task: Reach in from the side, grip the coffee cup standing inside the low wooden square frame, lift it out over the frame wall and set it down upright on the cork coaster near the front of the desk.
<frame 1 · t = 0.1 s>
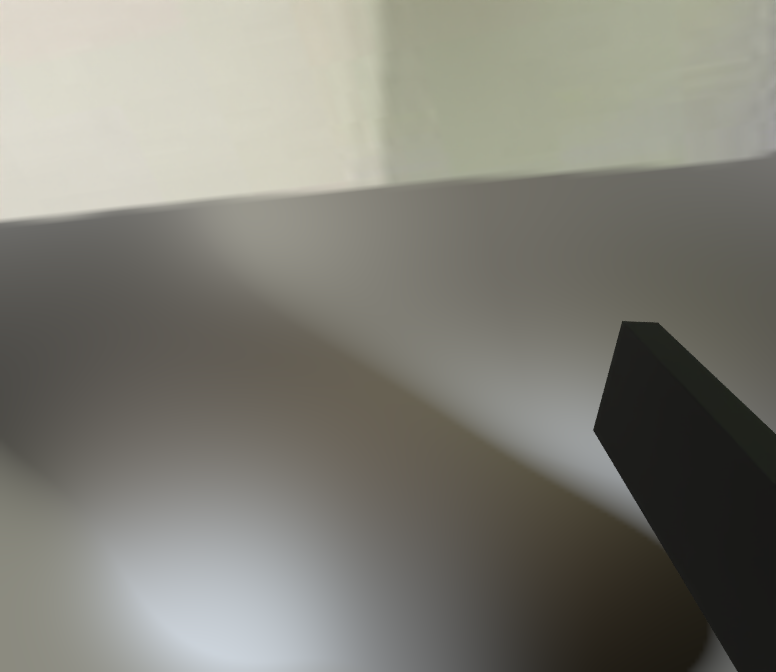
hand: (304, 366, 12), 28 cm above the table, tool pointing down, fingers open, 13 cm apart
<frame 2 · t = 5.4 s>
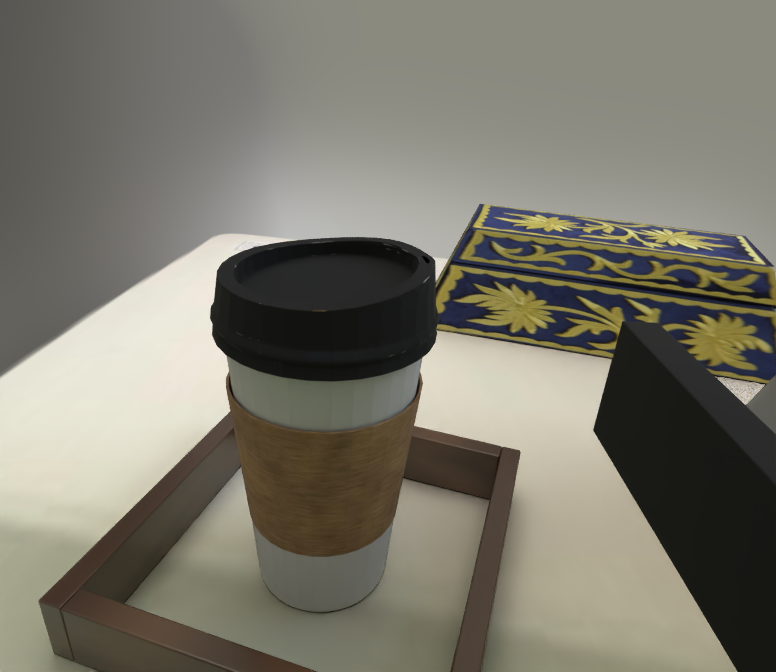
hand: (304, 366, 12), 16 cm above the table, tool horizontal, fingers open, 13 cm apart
decorative box: (587, 330, 53), on the table
coffee cup: (323, 562, 28), resting in wooden square frame
wooden square frame: (323, 559, 28), on the table
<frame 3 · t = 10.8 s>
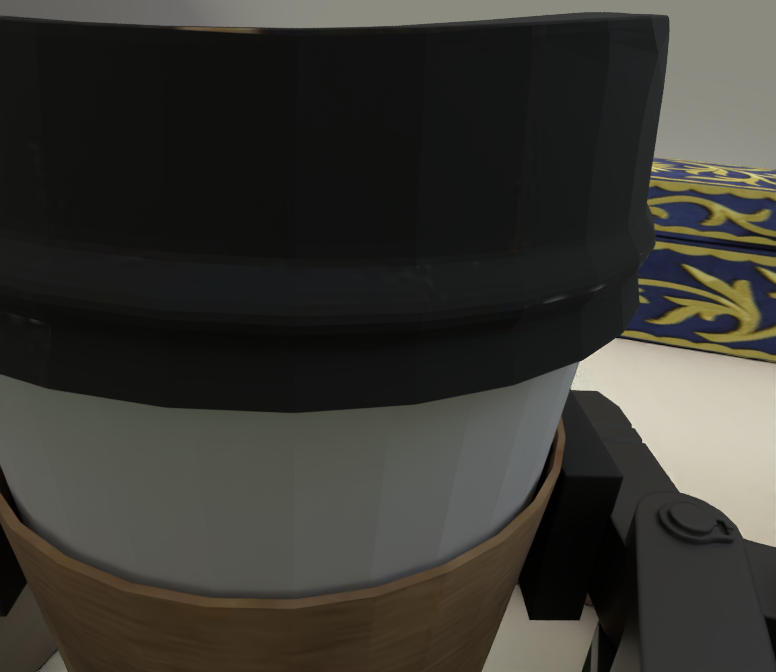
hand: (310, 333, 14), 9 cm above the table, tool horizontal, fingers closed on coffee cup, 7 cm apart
decorative box: (680, 317, 38), on the table
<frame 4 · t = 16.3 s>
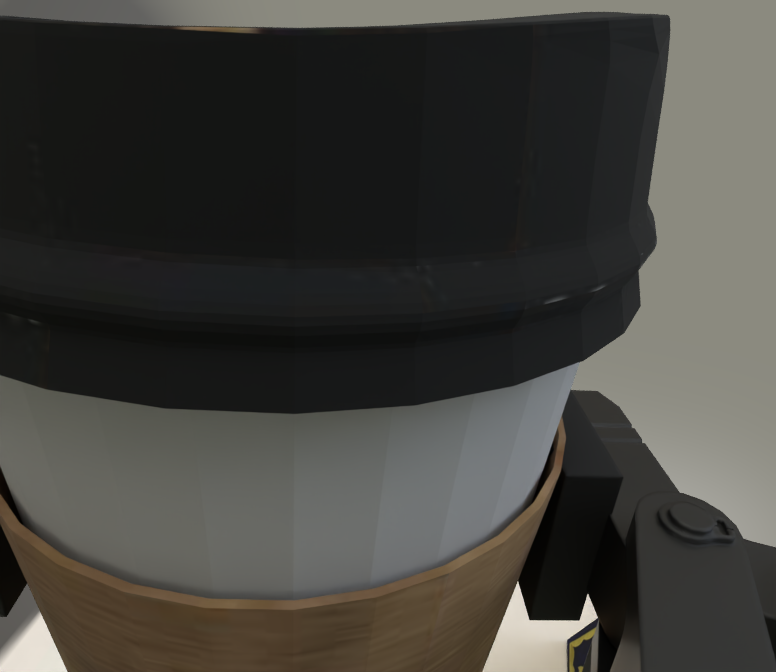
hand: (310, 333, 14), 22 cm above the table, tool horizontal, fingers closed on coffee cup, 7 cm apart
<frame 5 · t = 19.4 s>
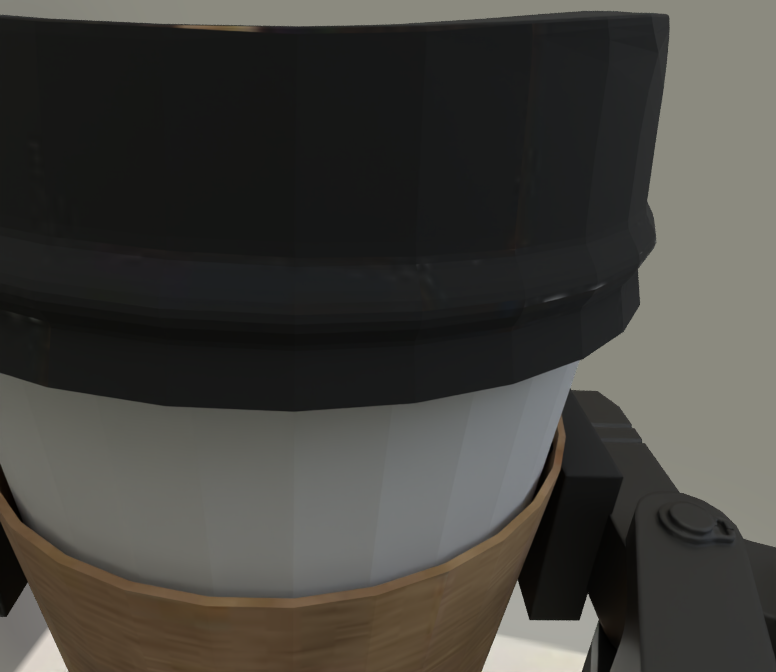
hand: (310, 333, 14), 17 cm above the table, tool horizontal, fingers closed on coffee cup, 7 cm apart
when the fingers open (9 cm above the table, at t = 22.0 s): coffee cup stays where it is, resting on coaster.
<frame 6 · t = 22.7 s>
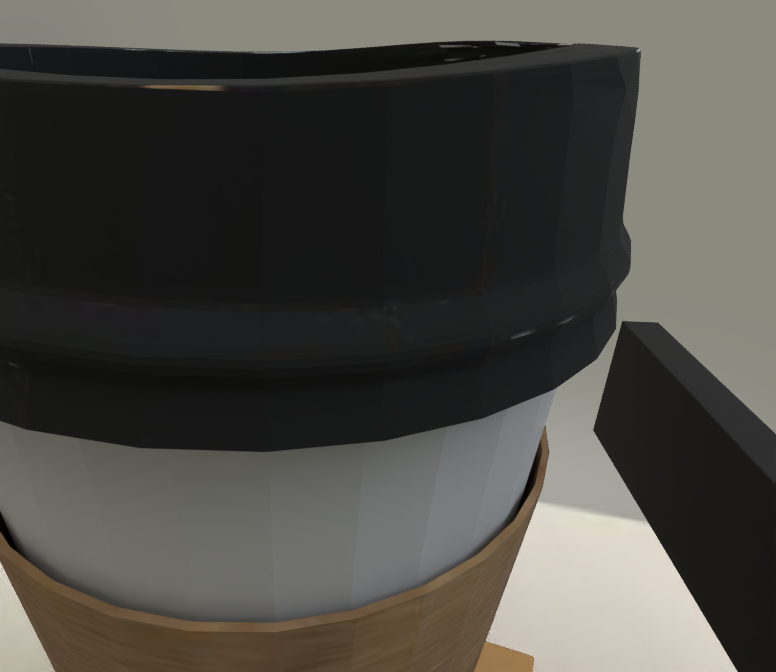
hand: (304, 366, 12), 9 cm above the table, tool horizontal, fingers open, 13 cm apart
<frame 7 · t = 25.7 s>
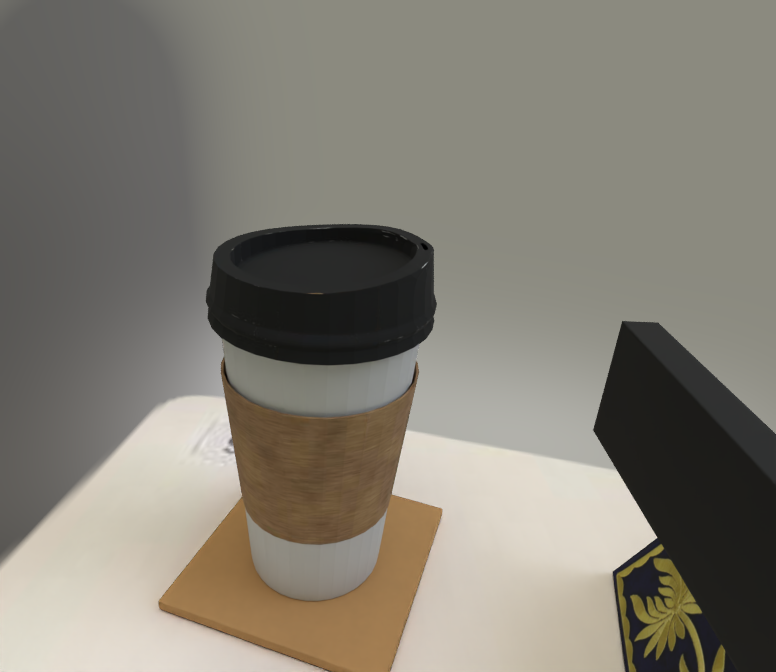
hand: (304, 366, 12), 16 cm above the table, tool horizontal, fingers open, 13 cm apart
coaster: (316, 557, 28), on the table
coffee cup: (316, 551, 28), resting on coaster
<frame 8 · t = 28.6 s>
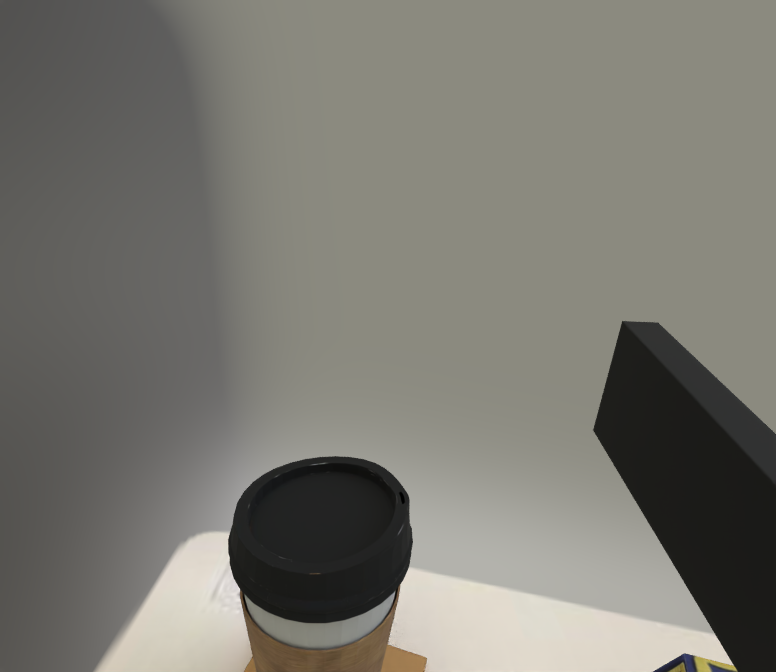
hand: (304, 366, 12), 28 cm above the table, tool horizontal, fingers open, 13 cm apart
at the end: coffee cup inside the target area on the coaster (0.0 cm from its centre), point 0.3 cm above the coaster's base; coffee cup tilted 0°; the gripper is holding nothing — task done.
